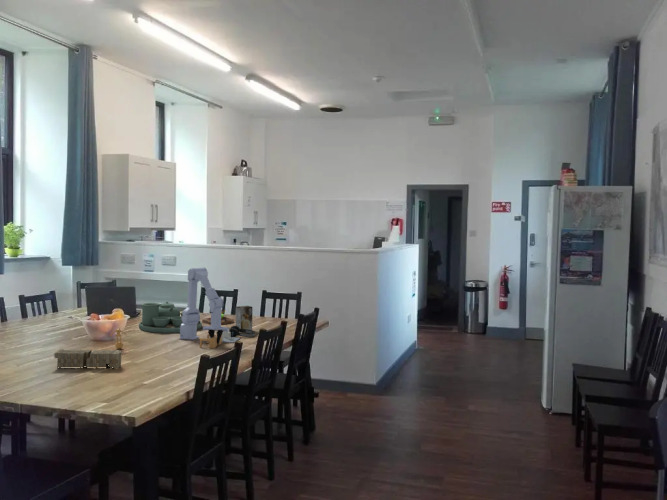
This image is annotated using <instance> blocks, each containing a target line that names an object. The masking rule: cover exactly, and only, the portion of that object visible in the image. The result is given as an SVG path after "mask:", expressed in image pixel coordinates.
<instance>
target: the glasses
mask: <svg viewBox="0 0 667 500" xmlns="http://www.w3.org/2000/svg"><path fill="white" fill-rule="evenodd" d="M209 336H210V335H209V333H207V337H206V338H203V337H202V338H201V337H199V348H203V342H204V341H207V342H206V343H207V344H209V347H208V348H209V349H215V348H216V347H217V346H220V345H221V344H222V343H221V338H220V342H219V344H217V335H214V337H212V338H211V339H209ZM221 336H222V335H221ZM209 341H210V342H209Z"/></svg>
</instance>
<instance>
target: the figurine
mask: <svg viewBox="0 0 667 500" xmlns="http://www.w3.org/2000/svg"><path fill="white" fill-rule="evenodd" d="M114 333H116V334H115V337H116V343H115V348H116V350H121V349H123V347H124V343H123V342H122V334H121V333H123V334H124V335H125V336H126V337H127V334H126V332H125V331H123V330H121V329H120V327H118V328H117V329H116V330H113V331H112V332H111V334H110V337H112V335H113V334H114Z"/></svg>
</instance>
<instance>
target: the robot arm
mask: <svg viewBox="0 0 667 500" xmlns="http://www.w3.org/2000/svg"><path fill="white" fill-rule="evenodd" d="M208 274H209V272H208V270H207V268H206V267H190V268H189V269H188V271H187V281H188V284H187V285H188V287H187V305H186V308H185V309H184V310H182V312H183V314H182V318H181V319H182V322H183V323H182V324H181V326H180V332H179V340H194V341H195V340H196V339H198V338H200V336H198V335H197V332H198V331H197V330H198V329H197V324H198V322H199V321H201V320H200V319H201V314H200V310H199V309H198V308H197V301H198V300H197V298H198V296H197V295H198V283H199V282H200V283H201V285H202V286H203V288H204V289H205V291H204V293H205V296H206V297H207V300H208V301H209V303H208V307H209V311H210V318H211V324H210V326H209V325H207V326H206V325H204V326H203V327H202V330H203V331H208V332H207V334H209V335H210V338H212V337H214V333H217V344H219V342H220V338H221V335H222V333H223V331H229V328H230V327H229V326H228V327H226V326H222V325H221V314H222V313H221V310H222V308H223V307H224V305H225V304H224V300H223V298H222V297H220V296H219V295H218V293H217V291H216V290H215V288H214V287H212V286H211V285H212V284H211V283H210V280H209V278H208Z"/></svg>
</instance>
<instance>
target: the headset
mask: <svg viewBox="0 0 667 500" xmlns="http://www.w3.org/2000/svg"><path fill="white" fill-rule="evenodd" d="M225 322H226V319H225ZM225 325H226V326H227V327H228V328H229V332H231V337H238V336H239V337H243V338H254V337H255V336H256V331H254V330H253V329H252V330H247V329H240V328H239V327H238V326H236V325H231V327H229V326H228V324H225Z"/></svg>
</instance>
